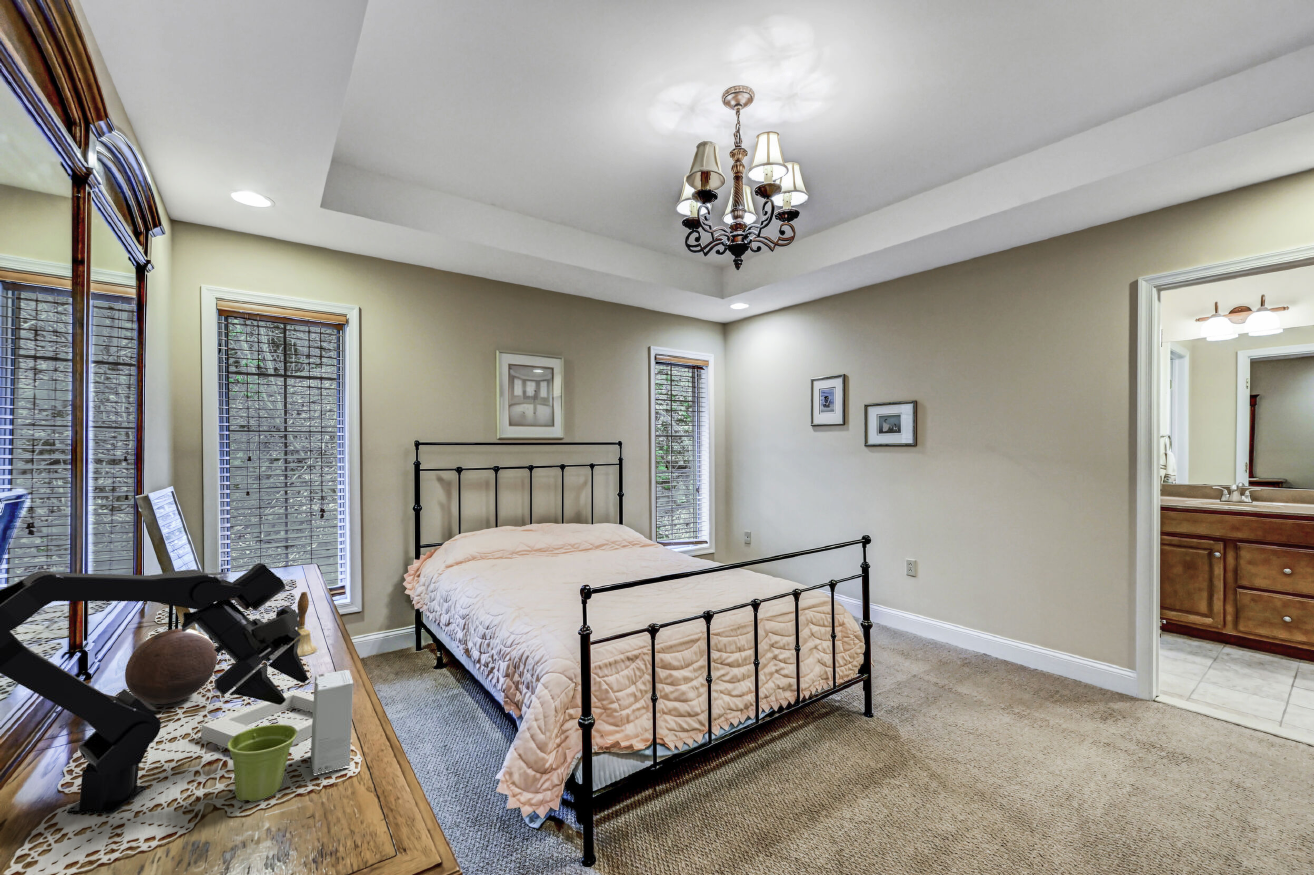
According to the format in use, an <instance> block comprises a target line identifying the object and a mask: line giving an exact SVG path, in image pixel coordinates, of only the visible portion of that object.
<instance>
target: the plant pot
mask: <svg viewBox="0 0 1314 875" xmlns="http://www.w3.org/2000/svg"><path fill="white" fill-rule="evenodd" d="M296 736H297V730H296V729H295V728H294V726H292V725H288V724H281V723H277V724H276V723H274V724H266V725H259V726H255V727H251V729H248V730H245V731H243V732H241V733H239V734H237V735H235V736H234V737H233V738H231V739H230V741H229V742H228V748H227V749H228V751H229V752H230V756H231V758H232V764H233V776H234V791H235V798H236V799H237V800H238V801H241V802H243V801H250V802H256V801H261V800H263V799H266V798H269V797H271V796H273V795H275V794H276V792H277V791H278V790H279V789H281V787H282V783H283V780H284V775H285V770H286V765H287V762H288V757H289V754H290V750H291V747H293V746H292V743H293V740H294V739H295V738H296Z"/></svg>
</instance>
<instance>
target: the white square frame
mask: <svg viewBox="0 0 1314 875" xmlns="http://www.w3.org/2000/svg"><path fill="white" fill-rule="evenodd" d="M282 694H283V696H284V697H285V699H286V701H285V702H284V703H283V704H281V705H278V704H274V703H270V702H266V701H262V702H259V703H256V704H253V705H251V706H249V707H245V708H244V709H243V708H242V709H240V710H238V711H235V712H233V713H230V714H227V715H223V716H222V717H220V718H219V717H218V718H216V719H214V720H211V721H209V722H208V721H207V722H206V723H203V724H202V725H201V734H200V739H203V740H205V741H207V742H210V743H213V744H214V745H218V746H220V747H223V748H226V749H228V742H229V741H230V739H231V738H233V737H234V736H235V735H237V734H239V733H241V732H243V731H245V730H248V729H251V728H252V727H250V726H248V725H250V724H252V723H255V722H259V721H260V720H263V719H265V718H267V717H270V716H272V715H274V714H277V713H280V712H282V711H285V710H288V709H289V708H295V709H299V710H302V711H304V712H305V711H306V712H308V711H310V712H309V713H311V712H313V702H314V694H311V693H308V692H304V691H302V690H298V689H294V690H291V691H289V692H286V693H285V692H284V693H282ZM312 719H313V717H312V718H310V719H308V720H305V721H304V722H303V721H302V722H301V723H299V724H296V725H294V726H293V727H294V728H295V729H296V730H297V736H296V738H295V739H294V740H293V743H292V746H291V747H293V746H295V745H297V744H299V743H301V742H304V741H306V740H308V739H310V738H312V737H311V736H312Z"/></svg>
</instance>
